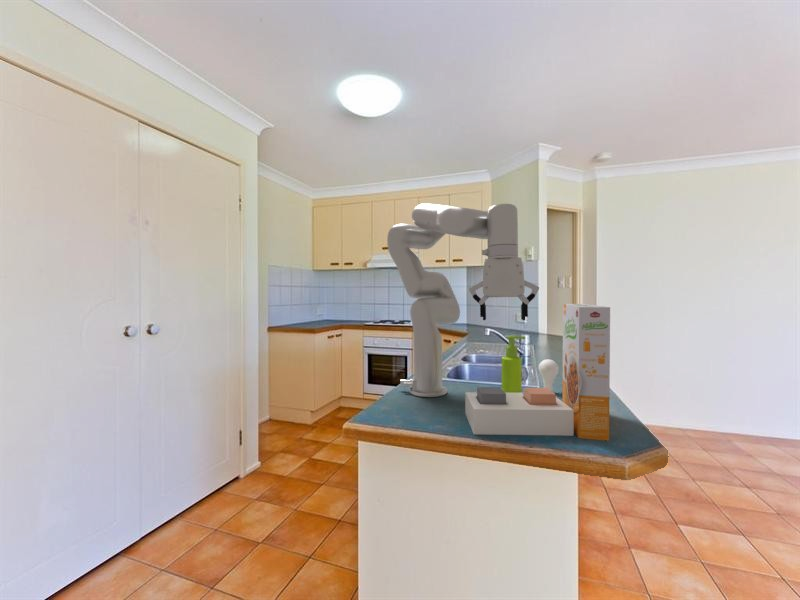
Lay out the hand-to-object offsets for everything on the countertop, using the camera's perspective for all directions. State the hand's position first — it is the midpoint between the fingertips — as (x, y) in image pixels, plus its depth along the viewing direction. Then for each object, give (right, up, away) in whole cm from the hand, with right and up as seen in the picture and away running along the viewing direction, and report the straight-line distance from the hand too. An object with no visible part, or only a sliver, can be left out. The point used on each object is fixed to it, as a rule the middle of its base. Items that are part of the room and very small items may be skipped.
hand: (503, 319), depth 92 cm
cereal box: (+20, -26, 0) cm, 33 cm away
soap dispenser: (+8, -26, +18) cm, 33 cm away
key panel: (+2, -26, -2) cm, 26 cm away
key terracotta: (+8, -22, -2) cm, 23 cm away
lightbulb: (+23, -26, +27) cm, 43 cm away
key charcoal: (-4, -22, -1) cm, 22 cm away
